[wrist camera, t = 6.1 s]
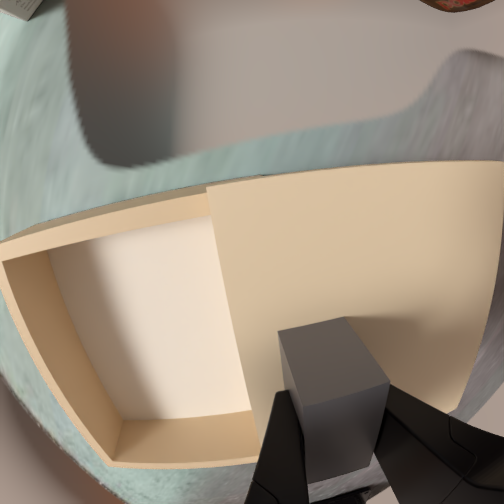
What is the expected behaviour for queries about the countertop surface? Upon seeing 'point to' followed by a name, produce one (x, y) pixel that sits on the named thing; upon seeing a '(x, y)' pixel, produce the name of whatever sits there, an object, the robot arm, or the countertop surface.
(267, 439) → the robot arm
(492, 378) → the countertop surface
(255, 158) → the countertop surface
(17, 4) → the skincare box
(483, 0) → the tin
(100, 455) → the carton
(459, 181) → the carton lid
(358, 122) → the countertop surface
